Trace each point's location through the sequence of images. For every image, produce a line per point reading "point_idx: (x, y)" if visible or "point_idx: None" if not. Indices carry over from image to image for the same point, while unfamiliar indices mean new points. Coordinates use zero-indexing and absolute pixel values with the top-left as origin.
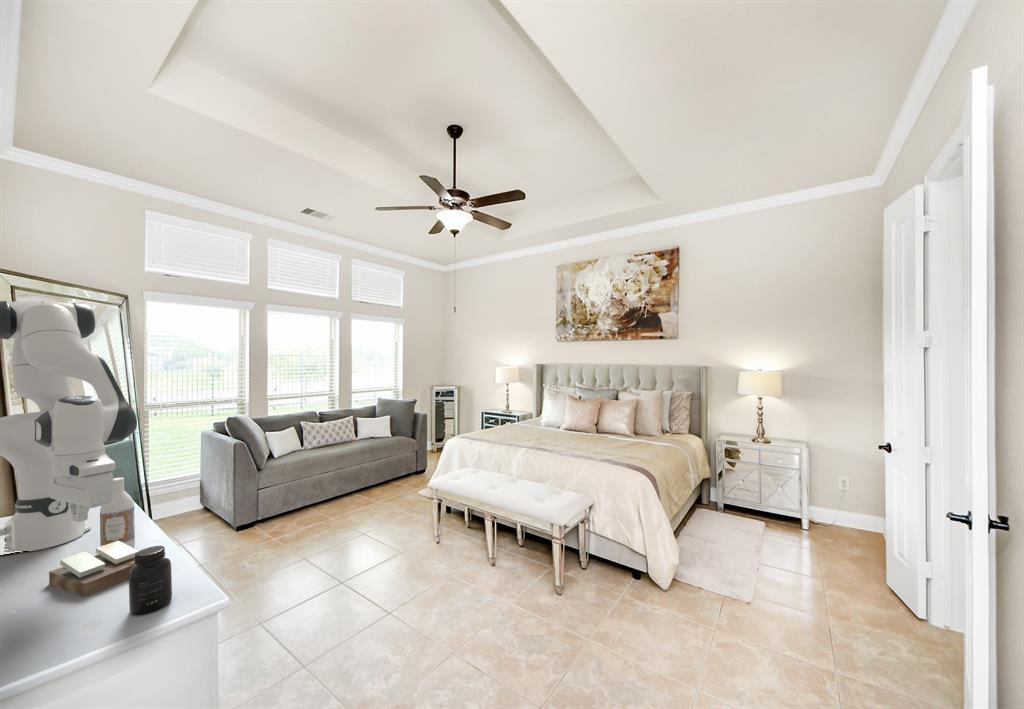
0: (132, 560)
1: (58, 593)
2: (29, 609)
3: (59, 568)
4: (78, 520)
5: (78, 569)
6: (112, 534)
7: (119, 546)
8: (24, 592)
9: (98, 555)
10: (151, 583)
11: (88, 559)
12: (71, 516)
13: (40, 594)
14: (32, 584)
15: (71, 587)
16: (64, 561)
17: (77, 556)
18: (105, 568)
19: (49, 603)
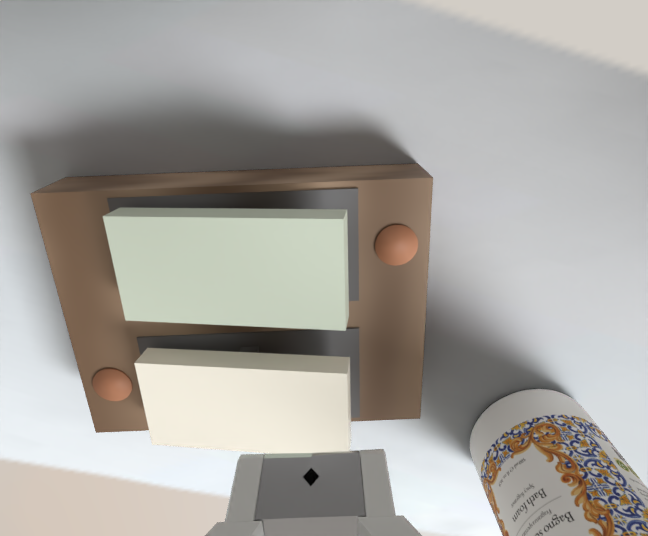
0: None
1: (244, 142)
2: (165, 8)
3: (423, 217)
4: (237, 465)
5: (145, 225)
6: (524, 482)
7: (272, 431)
8: (436, 74)
9: (407, 361)
10: None
11: (231, 298)
12: (384, 480)
13: (322, 100)
14: (508, 127)
15: (187, 177)
16: (300, 222)
17: (312, 283)
18: None
19: (151, 79)
